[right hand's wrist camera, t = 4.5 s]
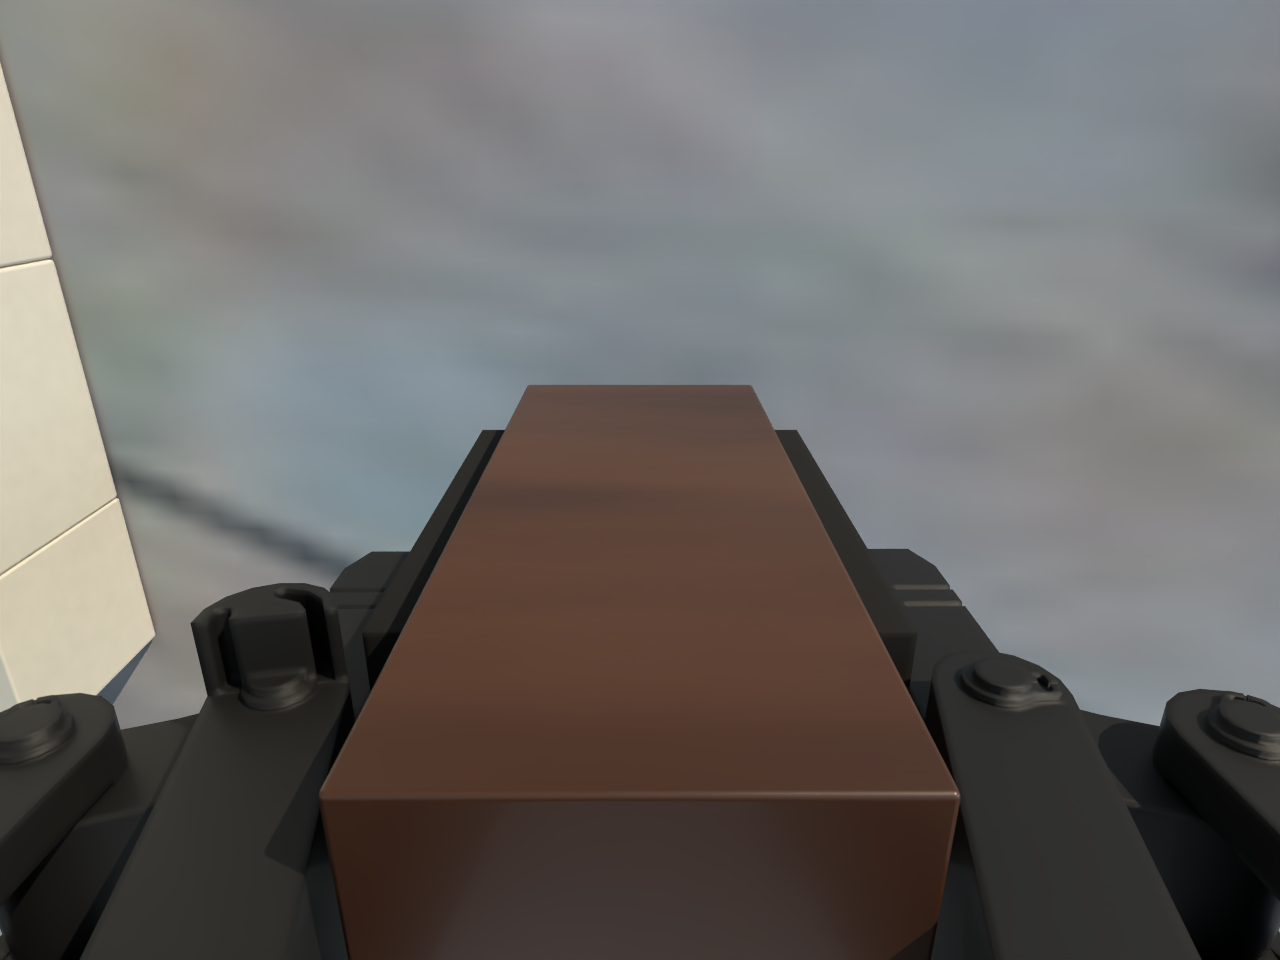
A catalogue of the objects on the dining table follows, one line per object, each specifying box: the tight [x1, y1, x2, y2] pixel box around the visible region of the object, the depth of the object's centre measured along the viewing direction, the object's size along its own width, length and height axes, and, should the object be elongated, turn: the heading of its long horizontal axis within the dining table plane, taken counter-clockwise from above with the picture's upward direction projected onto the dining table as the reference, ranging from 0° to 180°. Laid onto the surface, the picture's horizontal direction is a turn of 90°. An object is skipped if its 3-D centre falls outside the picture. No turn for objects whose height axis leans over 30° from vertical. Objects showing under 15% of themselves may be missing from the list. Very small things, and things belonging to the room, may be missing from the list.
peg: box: [318, 385, 961, 960], centre depth 10 cm, size 4×4×10 cm
